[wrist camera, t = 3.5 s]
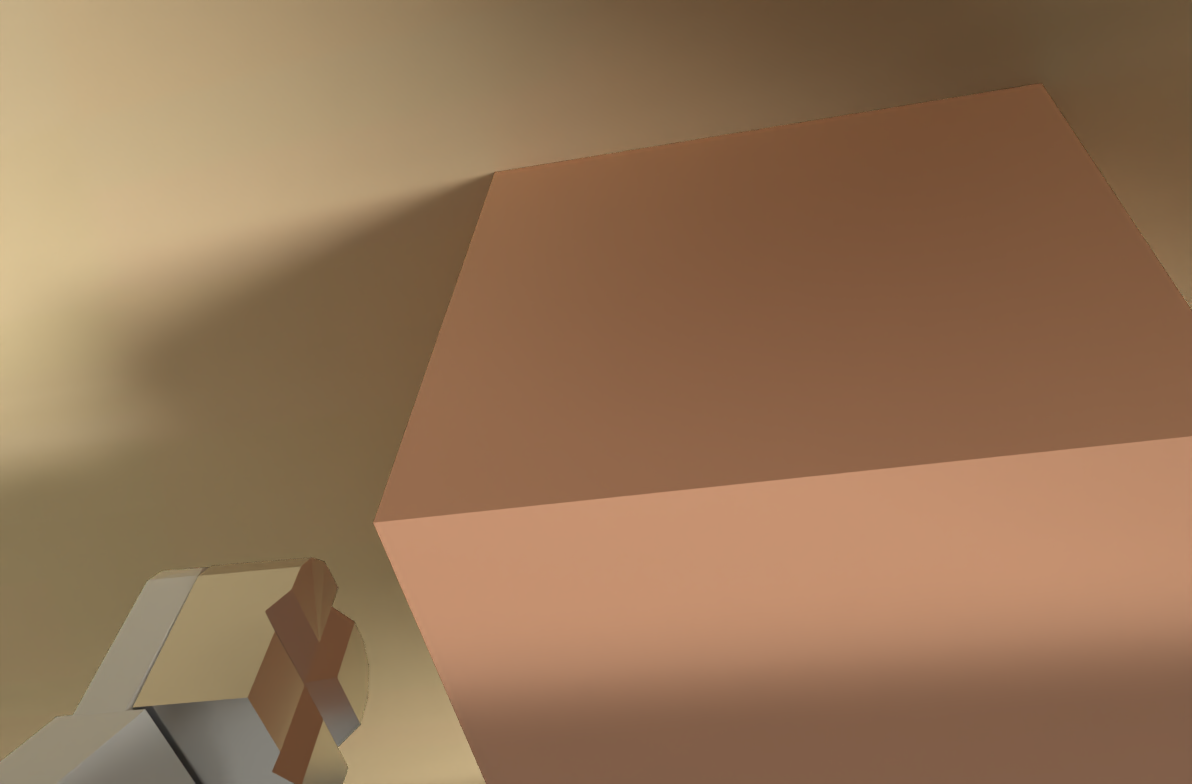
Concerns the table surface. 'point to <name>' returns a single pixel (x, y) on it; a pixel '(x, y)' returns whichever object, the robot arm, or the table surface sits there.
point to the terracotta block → (810, 464)
